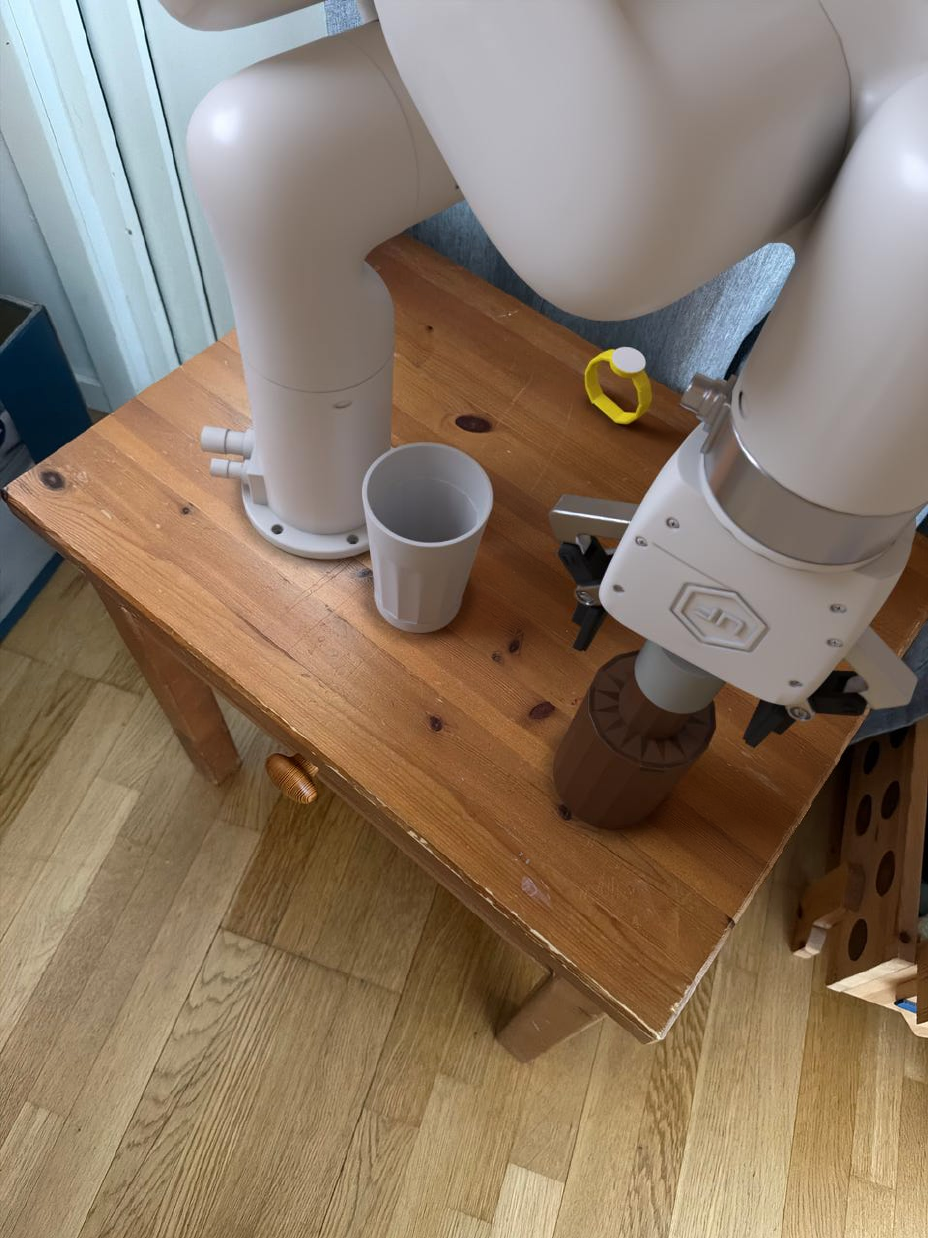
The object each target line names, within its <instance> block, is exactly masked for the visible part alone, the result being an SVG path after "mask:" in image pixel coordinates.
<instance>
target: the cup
mask: <svg viewBox="0 0 928 1238" xmlns="http://www.w3.org/2000/svg"><path fill="white" fill-rule="evenodd" d="M393 448H394V449H392V450H390V451H388V452H386V453H385V454H383V455H382V456H380V457H379V458H378V459H377V460H376V461H375V462H374V463H373V464H372V466H371V467H370V468H369V470H368V472H367V474H366V476H365V479H364V482H363V487H362V497H363V504H364V510H365V517H366V524H367V530H368V538H369V546H370V550H369V552H370V561H371V569H372V576H373V577H372V578H373V583H374V602H375V605H376V608H377V610H378V612H379V614H380V615H381V616H382V617H383V619H384V620H385V621H387V622H388V623H389V624H390V625H392V626H393V627H394V628H397V629H399V630H401V631H404V632H408V633H414V634H427V633H431V632H432V633H433V632H435V631H438V630H441V629H442V628H444V627H446V626H447V625H449V624H450V623H451V622H452V621H453V620H454V619H455V618H456V616H457V614H458V613H459V611H460V609H461V606H462V602H463V595H464V593H465V589H466V587H467V583H468V581H469V580H468V579H469V578H470V574H471V571H472V568H473V565H474V561H475V559H476V555H477V554H478V550H479V547H480V544H481V541H482V538H483V535H484V533H485V532H484V531H485V530H486V527H487V523H488V521H489V518H490V516H491V514H492V513H491V512H492V510H493V506H494V489H493V485H492V482H491V480H490V478H489V476H488V474H487V473H486V471H485V469H484V468H483V467H482V466H481V464H479V463H478V461H476V459H474V458H473V457H472V456H470V455H469V454H467V453H466V452H464V451H462V450H460V449H458V448H456V447H453V446H450V445H447V444H444V443H438V442H430V441H421V442H420V441H419V442H417V441H416V442H411V443H406V444H402V445H398V446H396V447H393Z"/></svg>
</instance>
